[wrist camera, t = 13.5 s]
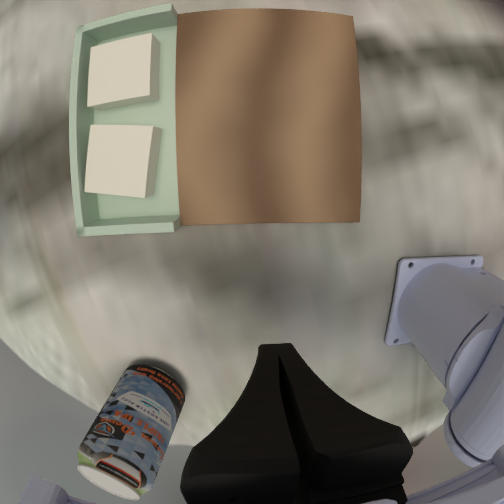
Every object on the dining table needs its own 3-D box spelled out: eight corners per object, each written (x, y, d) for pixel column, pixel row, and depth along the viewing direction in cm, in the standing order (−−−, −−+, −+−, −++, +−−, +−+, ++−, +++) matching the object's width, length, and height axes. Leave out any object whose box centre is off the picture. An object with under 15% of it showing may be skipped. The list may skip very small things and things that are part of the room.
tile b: (160, 42, 16) (152, 32, 15) (158, 100, 18) (149, 95, 16) (102, 54, 16) (90, 47, 15) (100, 110, 18) (87, 107, 16)
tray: (181, 20, 16) (171, 3, 14) (184, 221, 21) (174, 231, 18) (94, 39, 16) (76, 27, 14) (96, 226, 21) (77, 236, 18)
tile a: (162, 128, 18) (153, 126, 17) (154, 194, 20) (144, 198, 18) (103, 126, 18) (90, 124, 16) (97, 188, 20) (84, 192, 18)
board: (347, 22, 16) (352, 16, 15) (354, 218, 21) (359, 222, 20) (181, 20, 16) (177, 14, 15) (184, 221, 21) (180, 225, 20)
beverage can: (201, 385, 25) (180, 498, 14) (156, 416, 27) (127, 511, 15) (146, 343, 24) (95, 452, 13) (106, 380, 25) (59, 472, 14)
